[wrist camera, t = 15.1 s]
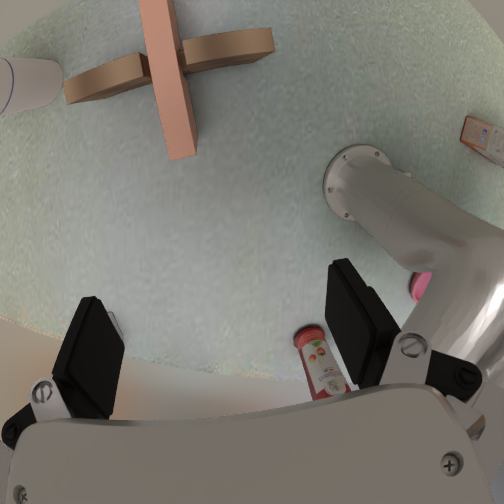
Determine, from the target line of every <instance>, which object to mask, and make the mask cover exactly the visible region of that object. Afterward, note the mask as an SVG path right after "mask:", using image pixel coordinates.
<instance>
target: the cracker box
mask: <svg viewBox="0 0 504 504" xmlns="http://www.w3.org/2000/svg"><path fill="white" fill-rule="evenodd" d="M460 141H462V142H463V143H465V144H466V145H468V146H469V147H471V148H472V149H474V150H475V151H477V152H478V153H480V154H481V155H482V156H484V157H485V158H487V159H488V160H489V161H491V162H492V163H494V164H496V165H498V166H500V167H502V168H504V129H503V128H500V127H498V126H495V125H492V124H490V123H487V122H484V121H481V120H478V119H475V118H472V117H469V116H467V117H466V121H465V125H464V129H463V132H462V136H461V139H460Z"/></svg>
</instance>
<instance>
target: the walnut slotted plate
mask: <svg viewBox="0 0 504 504" xmlns="http://www.w3.org/2000/svg"><path fill="white" fill-rule="evenodd" d="M182 42H183V47H184V50H181V51H179V53H180V59H181V64H182V70H183V75H185V74H190V73H194V72H199V71H204V70H209V69H214V68H220V67H226V66H232V65H239V64H246V63H253V62H255V61H257V60H259V59H261V58H263V57H265V56H267V55H269V54H271V53H273V52H275V47H274V41H273V36H272V30H271V28H258V29H248V30H239V31H232V32H225V33H218V34H212V35H206V36H201V37H196V38H191V39H186V40H182ZM151 83H153V81H152V76H151V71H150V66H149V60H148V57H146V56H145V55H143V54H141V53H139V52H138V53H134V54H131V55H128V56H125V57H122V58H119V59H117V60H114V61H111V62H108V63H106V64H103V65H101V66H98V67H96V68H93V69H91V70H88V71H86V72H84V73H81V74H79V75H77V76H75V77H73V78H70V79H68V80H66V81H64V82H63V87H64V92H65V97H66V101H67V105H69V104H74V103H80V102H86V101H92V100H99V99H105V98H108V97H111V96H113V95H116V94H119V93H122V92H125V91H128V90H131V89H134V88H137V87H141V86H144V85H147V84H151Z"/></svg>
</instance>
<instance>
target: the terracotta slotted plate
mask: <svg viewBox="0 0 504 504" xmlns="http://www.w3.org/2000/svg"><path fill="white" fill-rule="evenodd" d="M139 6H140V12H141V19H142V25H143V32H144V38H145V44H146V49H147V55H148V60H149V66H150V71H151V76H152V81H153V86H154V91H155V96H156V101H157V106H158V110H159V115H160V119H161V124H162V128H163V133H164V137H165V141H166V145H167V150H168V154H169V158H170V161H173V160H177V159H181V158H185V157H189V156H194V155H196V151H197V142H198V133H197V128H196V123H195V118H194V113H193V108H192V103H191V98H190V93H189V87H188V82H187V79H186V78H184V75H183V70H182V64H181V59H180V53H179V51H181V44H180V38H179V33H178V27H177V21H176V15H175V9H174V3H173V0H139Z"/></svg>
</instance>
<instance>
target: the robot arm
mask: <svg viewBox="0 0 504 504" xmlns="http://www.w3.org/2000/svg"><path fill="white" fill-rule="evenodd" d="M343 156H344V157H343ZM328 188H329V189H328ZM323 191H324V196H325V199H326V202H327V204H328V205H329V207H330V208H331V210H332V211H333V212H334V213H335V214H337V215H338V216H339V217H341V218H343V219H345V220H350V221H357V222H358V223H359V224H360V225H361V226H362V227H363V228H364V229H365V230H366V231H367V232H368V233H369V234H370V235H371V236H372V237H373V238H374V239H375V240H376V241H377V242H378V243H379V244H380V245H381V246H382V247H383V248H384V249H385V250H386V251H387V253H388V254H389V255H390V256H391V257H392V258H393V259H394V260H395V261H396V262H397V263H398V264H399V265H400V266H402V267H403V268H405V269H407V270H409V271H412V272H419V273H430V272H433V273H432V276H431V279H430V281H429V283H428V285H427V286H426V288H425V291H424V293H423V295H422V296H421V298H420V300H419V301H418V303H417V305H416V306H415V308H414V309H413V311H412V313H411V314H410V316H409V317H408V319H407V320H406V322H405V323H404V325H403V326H402V328H401V329H400V328H399V326H398V325H397V323H396V322H395V320H394V319H393V317H392V315H391V314H390V312H389V311H388V309H387V308H386V306H385V305H384V303H383V302H382V301H381V299H380V298H379V296H378V295H377V293H376V292H375V290H374V289H373V288H372V287H370V286H368V287H367V285H366V284H365V282H364V281H363V279H362V278H361V276H360V275H359V273H358V272H357V271H356V269H355V268H354V266H353V265H352V263H351V262H350V261H349V259H348V258H344V259H338V260H334V261H333V262H332V264H330V265H329V267H328V281H327V294H326V306H325V319H326V322H327V324H328V327H329V329H330V331H331V333H332V336H333V338H334V340H335V343H336V345H337V347H338V350H339V352H340V354H341V356H342V359H343V361H344V363H345V366H346V368H347V371H348V373H349V375H350V378H351V380H352V382H353V384H355V385H356V384H358V386H359V389H360V390H356V391H351V392H348V393H344V394H340V395H336V396H332V397H328V398H323V399H319V400H314V401H310V402H305V403H301V404H296V405H291V406H286V407H281V408H275V409H269V410H263V411H256V412H250V413H243V414H235V415H226V416H217V417H207V418H194V419H179V420H146V421H145V420H143V421H142V420H138V421H135V420H134V421H133V420H109V416H110V415H112V413H113V407H114V402H115V396H116V390H117V384H118V379H119V374H120V369H121V364H122V359H123V355H124V349H125V348H124V343H123V341H122V339H121V337H120V336H119V334H118V332H117V330H116V328H115V326H114V325H113V323H112V321H111V319H110V317H109V315H108V313H107V311H106V309H105V307H104V306H103V304H102V302H101V300H100V299H97V297H95V296H91V297H83V298H82V299H81V301H80V303H79V306H78V308H77V310H76V312H75V315H74V317H73V319H72V321H71V324H70V326H69V329H68V331H67V333H66V336H65V338H64V341H63V343H62V346H61V349H60V351H59V354H58V356H57V360H56V362H55V365H54V368H53V370H52V374H53V377H52V379H51V378H48V377H45V378H41V379H39V380H37V381H36V382H35V383H34V384H33V386H32V387H31V389H30V392H29V400H30V403H29V404H28V405H26V406H25V407H24V408H23V409H21V410H20V411H19V412H17V413H16V414H15V415H14V416H12V417H11V418H10V419H9V420H7V421H6V422H5V424H4V426H3V428H2V434H1V435H2V441H1V440H0V504H494V500H493V497H492V494H491V490H490V487H489V485H490V484H491V482H492V480H493V478H494V477H495V475H496V473H497V471H498V470H499V468H500V466H501V464H502V462H503V460H504V230H502V229H500V228H498V227H496V226H494V225H492V224H490V223H488V222H486V221H484V220H482V219H480V218H478V217H476V216H474V215H472V214H470V213H468V212H466V211H465V210H463V209H461V208H460V207H458V206H456V205H455V204H453V203H451V202H450V201H448V200H446V199H445V198H443V197H442V196H440V195H439V194H437V193H435V192H434V191H432V190H430V189H429V188H427V187H426V186H424V185H422V184H421V183H419V182H417V181H415V180H414V179H412V178H411V173H410V172H409V171H405V172H400V171H398V170H396V169H395V168H393V167H392V165H391V162H390V160H389V159H388V157H387V156H386V155H385V154H384V153H383V152H382V151H380V150H379V149H377V148H375V147H372V146H369V145H363V144H361V145H354V146H351V147H348V148H346V149H344V150H343V151H341V152H340V153H339V154H338V155H336V157H335V158H334V159H333V160H332V161H331V163H330V165H329V166H328V168H327V171H326V174H325V177H324V183H323Z"/></svg>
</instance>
